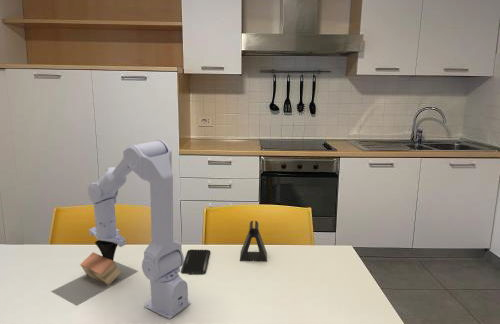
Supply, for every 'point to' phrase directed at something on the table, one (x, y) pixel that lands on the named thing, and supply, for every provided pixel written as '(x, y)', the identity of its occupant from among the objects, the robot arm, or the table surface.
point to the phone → (195, 262)
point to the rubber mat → (89, 286)
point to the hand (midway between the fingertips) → (109, 261)
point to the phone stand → (262, 251)
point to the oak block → (100, 268)
